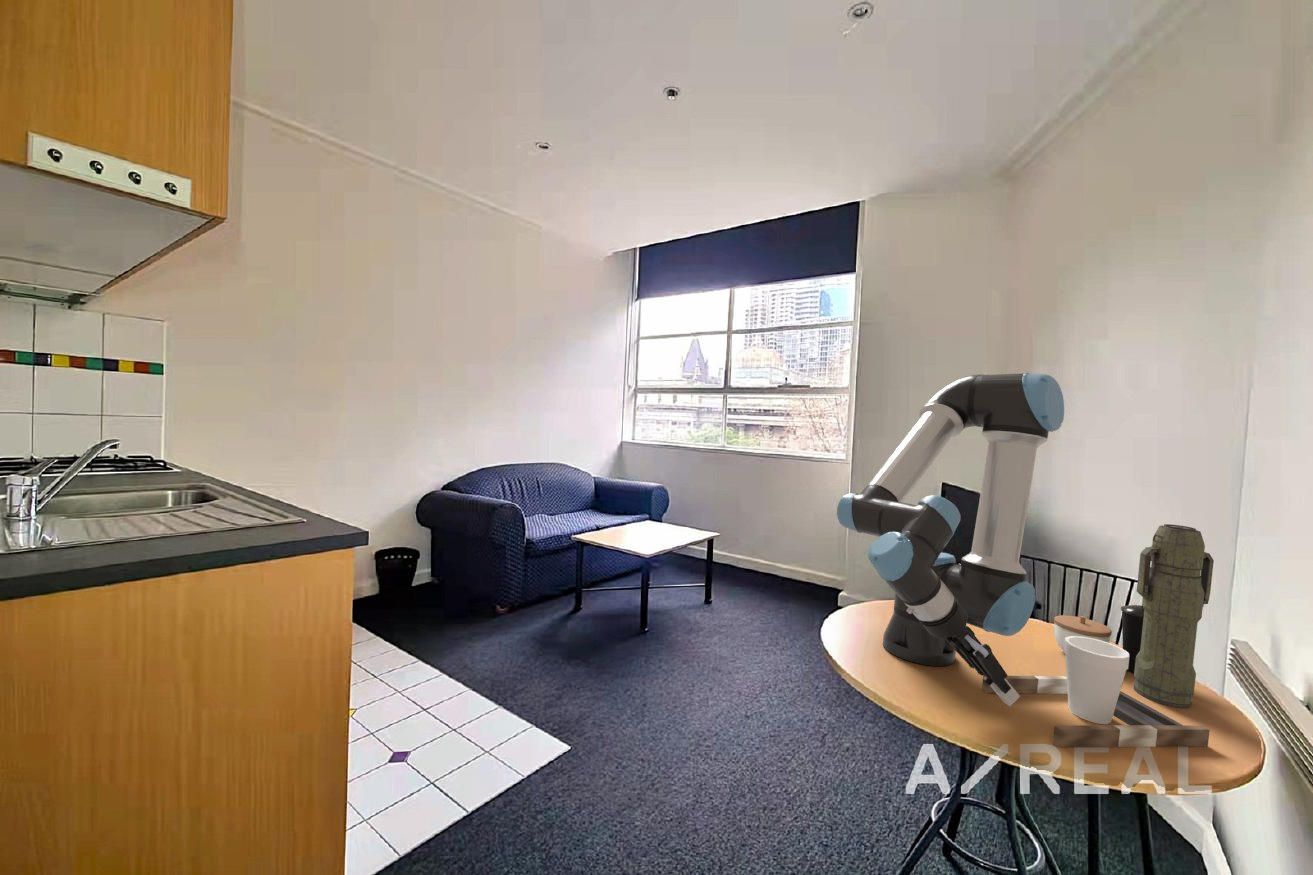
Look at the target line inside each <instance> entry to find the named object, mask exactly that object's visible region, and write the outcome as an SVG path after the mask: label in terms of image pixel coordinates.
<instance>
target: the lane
mask: <svg viewBox="0 0 1313 875" xmlns="http://www.w3.org/2000/svg"><path fill="white" fill-rule="evenodd" d="M983 677H984V675H983V676H982V682H981V683H982V684H981V691H983V692H984V693H985V694H996V692H995V691H994V690H993V689H992V688H991V686H989V685H988V684H987V683H985V679H984V678H983ZM1006 680H1007V681H1008V682H1009V683H1010V684H1011V686H1012V687H1013V688H1014V689H1015V690H1016V692H1017V693H1018V694H1051V695H1052V694H1053V695H1054V694H1055V695H1056V694H1058V695H1059V694H1062V695H1063V694H1065V695H1068V692H1067V675H1065V676H1064V675H1008V676H1007V677H1006ZM1113 717H1116V718H1117V719H1119V720H1120V721H1123V722H1124V723H1126V724H1125V725H1122V724H1121V725H1119V724H1117V725H1115V724H1114V725H1113V724H1112V725H1110V724H1109V725H1108V724H1101V725H1098V724H1097V725H1096V724H1095V725H1094V724H1093V725H1091V724H1089V725H1086V724H1085V725H1081V724H1080V725H1073V724H1072V725H1071V724H1070V725H1069V724H1067V725H1063V724H1060V725H1059V724H1057V725H1055V724H1054V727H1053V735H1052V744H1054V745H1055V746H1057V747H1058V748H1089V747H1090V748H1112V747H1113V748H1119V747H1120V748H1127V747H1128V748H1133V747H1134V748H1141V747H1143V748H1145V747H1146V748H1147V747H1149V748H1150V747H1151V748H1153V747H1154V748H1156V747H1157V748H1158V747H1159V748H1161V747H1164V748H1165V747H1175V748H1176V747H1181V748H1182V747H1186V748H1187V747H1191V748H1192V747H1209V737H1210V728H1208V727H1206V726H1204V725H1200V724H1199V725H1194V724H1193V725H1190V724H1189V725H1188V724H1187V725H1185V724H1182V723H1180V722H1178V721H1176V720H1174V719H1173V718H1171V717H1169V716H1168V715H1165V714H1163V713H1161V711H1158V710H1156V709H1155V708H1152V707H1150V706H1149V705H1147V704H1145V703H1144V702H1141V701H1140V700H1138V699H1136V698H1134V697H1132V696H1131V695H1128V694H1127V693H1125V692H1123V691H1122V690H1120V693H1119V697H1118V700H1117V704H1116V707H1115V711H1114V714H1113ZM1127 724H1128V725H1127Z"/></svg>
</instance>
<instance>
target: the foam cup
mask: <svg viewBox="0 0 1313 875" xmlns="http://www.w3.org/2000/svg"><path fill="white" fill-rule="evenodd" d="M1063 653H1064V656H1065V672H1066V674H1065V676H1067V692H1068V694H1067V704H1068V705H1067V706H1068V710H1069V711H1070V712H1071V714H1072V715H1074V716H1076V717H1078V718H1080V719H1083V720H1085V721H1087V722H1091V723H1095V724H1101V725H1108V724H1110V723H1112V720H1113V717H1114V715H1113V714H1114V711H1115V707H1116V704H1117V700H1118V697H1119V693H1120V691H1122V685H1123V683H1124V679H1125V676H1126V673H1127V671H1126V670H1127V669H1128V665H1129V653H1128V652H1127V651H1125V650H1124V649H1123V647H1120V646H1117V645H1115V644H1113V643H1107V642H1104V641H1101V640H1097V639H1092V638H1087V637H1080V636H1069V637H1065V646H1064V652H1063Z"/></svg>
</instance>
